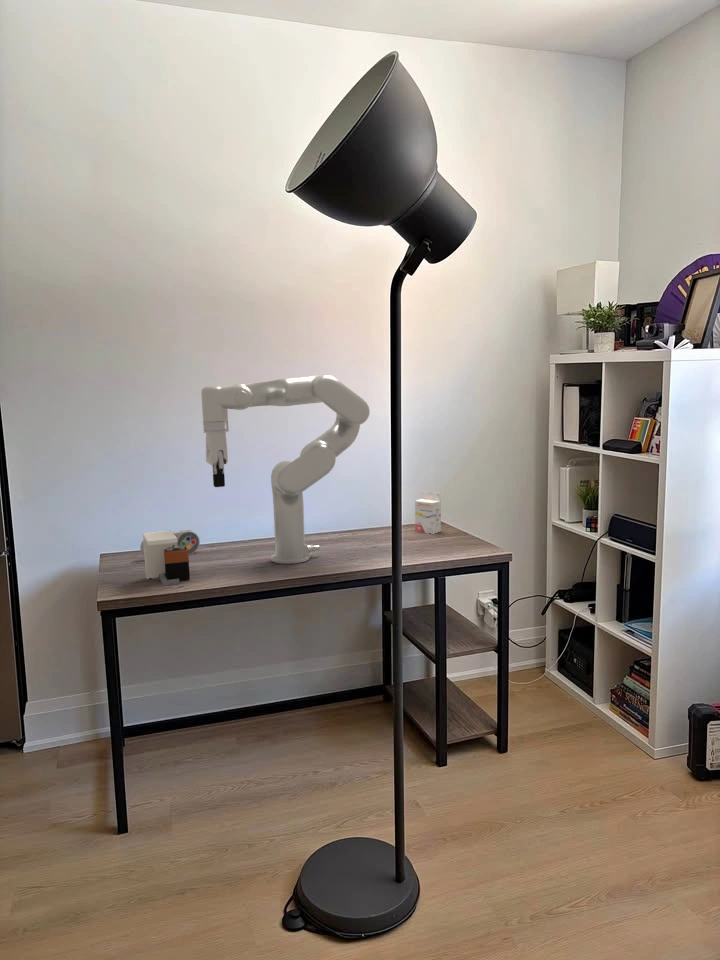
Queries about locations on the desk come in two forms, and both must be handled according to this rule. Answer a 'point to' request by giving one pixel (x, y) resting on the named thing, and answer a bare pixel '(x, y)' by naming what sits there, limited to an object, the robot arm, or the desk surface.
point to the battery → (177, 563)
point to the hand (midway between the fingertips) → (219, 486)
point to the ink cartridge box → (428, 513)
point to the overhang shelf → (157, 554)
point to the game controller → (183, 541)
